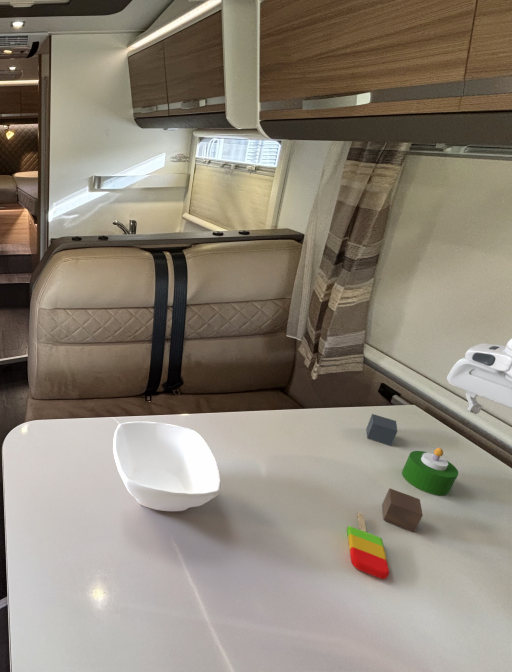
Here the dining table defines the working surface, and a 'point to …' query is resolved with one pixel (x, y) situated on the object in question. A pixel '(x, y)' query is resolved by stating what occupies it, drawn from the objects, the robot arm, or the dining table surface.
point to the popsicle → (367, 551)
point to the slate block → (381, 429)
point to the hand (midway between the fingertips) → (504, 424)
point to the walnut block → (402, 510)
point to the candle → (430, 472)
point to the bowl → (165, 465)
